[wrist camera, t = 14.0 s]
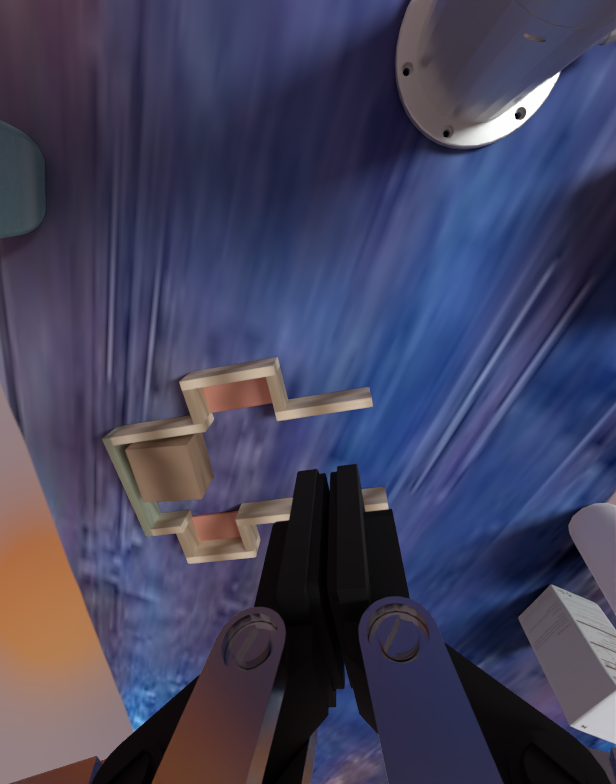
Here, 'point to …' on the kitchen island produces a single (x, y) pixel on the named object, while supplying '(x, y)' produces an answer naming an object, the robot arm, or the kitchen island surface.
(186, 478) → the walnut block
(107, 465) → the kitchen island surface
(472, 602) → the kitchen island surface
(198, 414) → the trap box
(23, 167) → the flower pot
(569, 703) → the supplement box
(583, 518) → the foam cup
